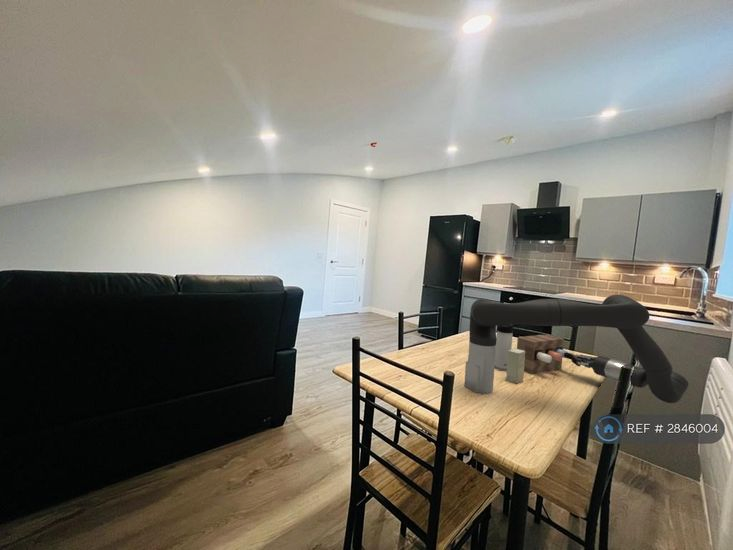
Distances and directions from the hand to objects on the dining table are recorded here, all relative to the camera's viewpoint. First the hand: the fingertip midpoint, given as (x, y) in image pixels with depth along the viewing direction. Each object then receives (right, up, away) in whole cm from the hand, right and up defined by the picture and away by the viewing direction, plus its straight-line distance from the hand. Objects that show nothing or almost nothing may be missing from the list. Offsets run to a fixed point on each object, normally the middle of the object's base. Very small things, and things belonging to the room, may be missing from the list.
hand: (565, 354), depth 127 cm
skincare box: (-28, -8, -11) cm, 31 cm away
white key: (-13, -1, -6) cm, 14 cm away
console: (-10, -7, +4) cm, 13 cm away
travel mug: (-27, -7, +1) cm, 28 cm away
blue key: (-1, -1, +2) cm, 3 cm away
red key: (-6, -1, -3) cm, 7 cm away
